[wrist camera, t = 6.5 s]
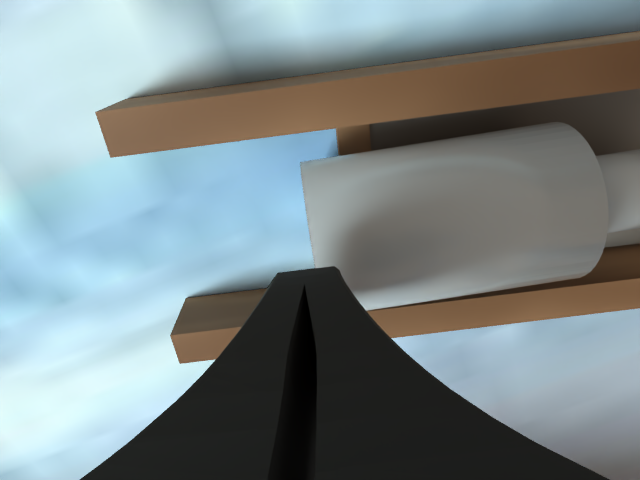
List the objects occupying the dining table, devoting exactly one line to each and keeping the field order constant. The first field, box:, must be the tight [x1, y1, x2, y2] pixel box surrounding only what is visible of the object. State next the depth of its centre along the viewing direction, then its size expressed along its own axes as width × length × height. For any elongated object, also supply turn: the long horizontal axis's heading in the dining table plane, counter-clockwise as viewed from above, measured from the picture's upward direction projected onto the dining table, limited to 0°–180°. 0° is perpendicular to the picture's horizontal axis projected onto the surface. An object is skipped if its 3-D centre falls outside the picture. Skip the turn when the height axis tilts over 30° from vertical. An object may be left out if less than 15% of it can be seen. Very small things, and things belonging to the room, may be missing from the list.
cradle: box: [95, 31, 640, 364], centre depth 14 cm, size 8×21×4 cm, turn 97°
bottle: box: [300, 122, 640, 311], centre depth 13 cm, size 4×4×11 cm
